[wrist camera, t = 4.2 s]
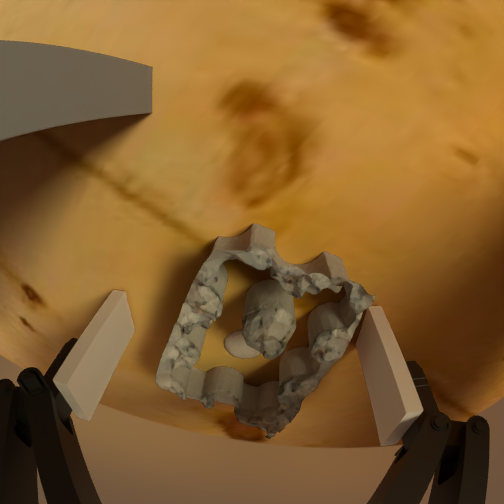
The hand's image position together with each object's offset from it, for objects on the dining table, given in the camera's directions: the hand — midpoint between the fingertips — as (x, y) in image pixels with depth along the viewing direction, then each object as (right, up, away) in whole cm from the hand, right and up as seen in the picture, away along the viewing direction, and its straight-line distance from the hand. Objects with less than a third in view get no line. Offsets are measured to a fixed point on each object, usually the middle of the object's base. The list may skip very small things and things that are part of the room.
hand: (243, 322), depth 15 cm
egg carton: (0, 0, +1) cm, 1 cm away
